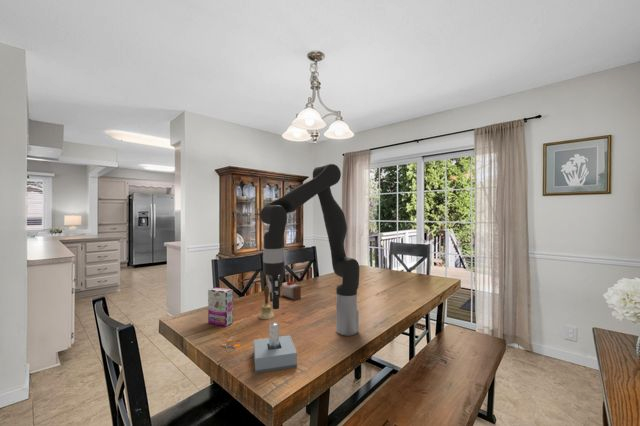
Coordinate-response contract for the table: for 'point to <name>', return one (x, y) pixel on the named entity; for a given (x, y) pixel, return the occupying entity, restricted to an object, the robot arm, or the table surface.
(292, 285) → the food item
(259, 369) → the bore block
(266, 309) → the hand bell
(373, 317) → the table surface
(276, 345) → the pin
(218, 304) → the candy bar box
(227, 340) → the key chain
